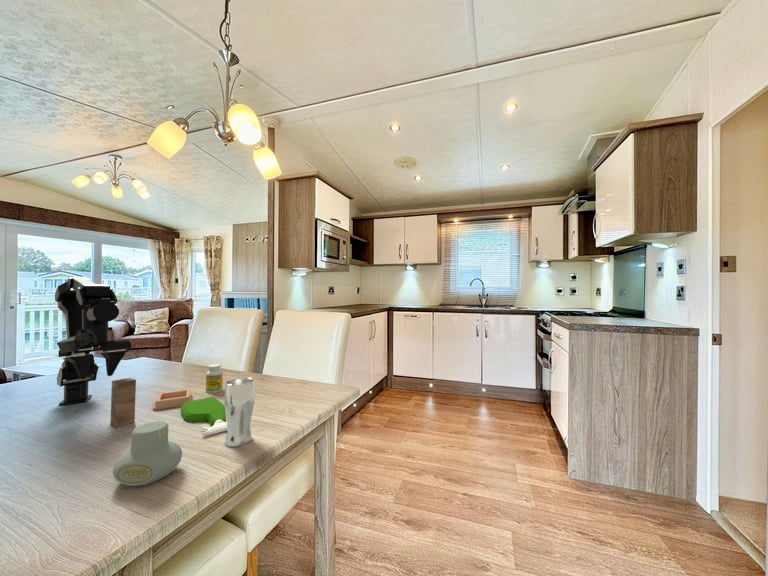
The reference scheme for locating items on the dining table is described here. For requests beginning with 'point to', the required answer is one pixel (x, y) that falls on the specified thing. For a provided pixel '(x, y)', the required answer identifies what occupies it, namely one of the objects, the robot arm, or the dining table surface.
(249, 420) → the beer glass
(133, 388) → the brown wooden block
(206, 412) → the spray bottle
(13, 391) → the dining table surface
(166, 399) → the jar dish
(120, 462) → the air freshener
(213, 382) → the supplement bottle
